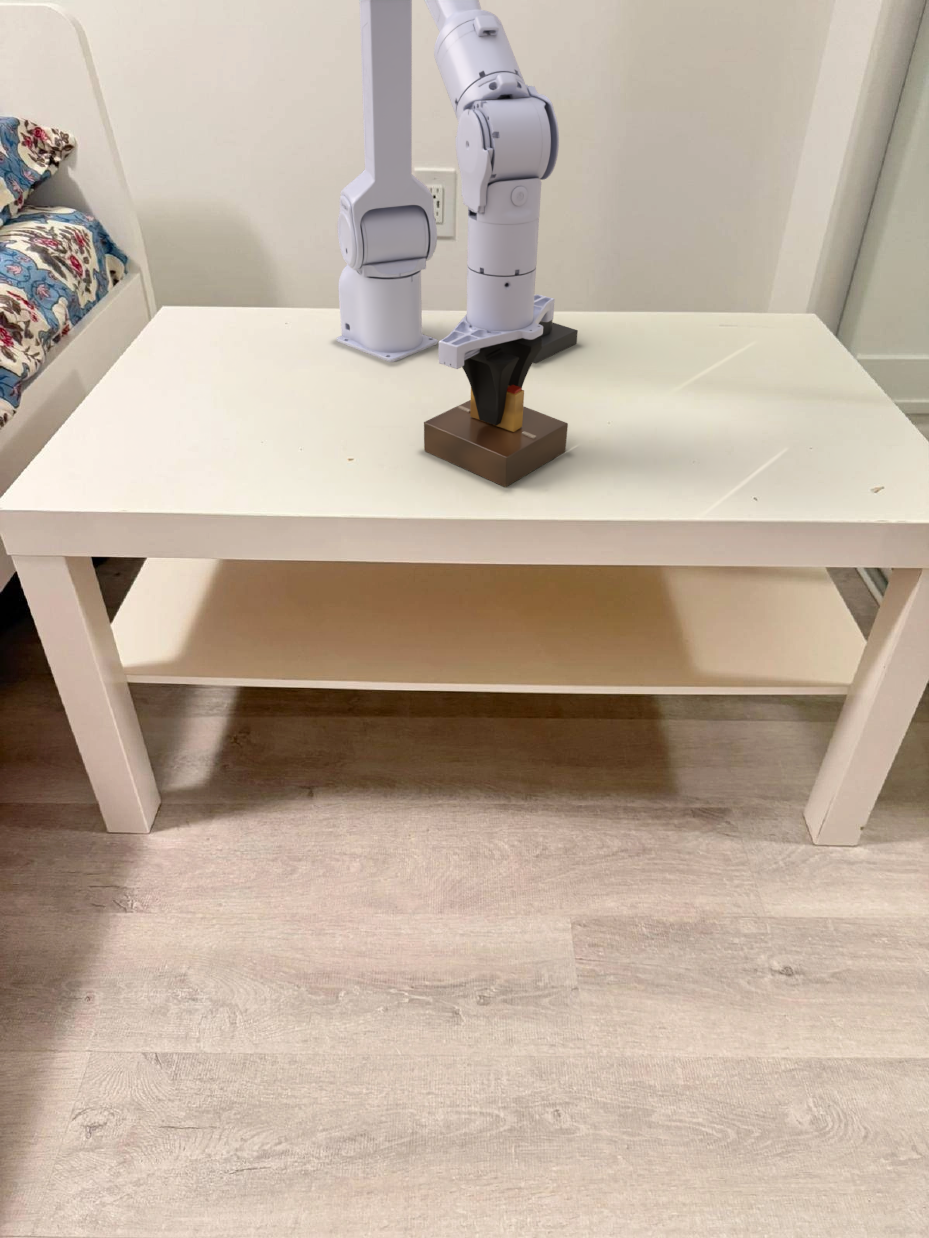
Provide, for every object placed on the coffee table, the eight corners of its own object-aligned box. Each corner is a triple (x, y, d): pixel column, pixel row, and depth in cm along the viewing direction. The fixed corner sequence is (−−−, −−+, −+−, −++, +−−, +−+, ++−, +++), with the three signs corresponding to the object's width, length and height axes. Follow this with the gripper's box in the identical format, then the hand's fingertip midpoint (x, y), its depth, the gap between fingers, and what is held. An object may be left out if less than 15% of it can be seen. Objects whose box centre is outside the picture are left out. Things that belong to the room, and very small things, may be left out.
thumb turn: (469, 417, 82) (470, 378, 80) (478, 411, 83) (479, 373, 81) (513, 432, 80) (515, 392, 77) (522, 427, 81) (524, 387, 78)
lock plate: (423, 451, 83) (423, 420, 81) (485, 419, 88) (486, 390, 86) (505, 487, 78) (506, 456, 76) (565, 452, 83) (568, 421, 81)
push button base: (469, 340, 105) (469, 311, 102) (511, 323, 109) (512, 294, 107) (535, 363, 100) (537, 333, 97) (576, 344, 104) (579, 314, 102)
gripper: (489, 299, 66) (484, 460, 75) (588, 254, 75) (574, 402, 84) (417, 280, 69) (420, 436, 78) (520, 239, 78) (513, 383, 87)
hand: (496, 417), depth 81 cm, fingers closed on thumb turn
